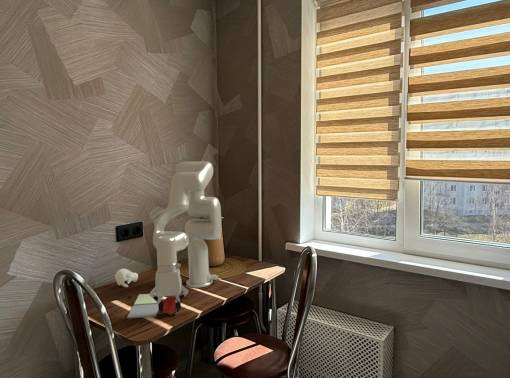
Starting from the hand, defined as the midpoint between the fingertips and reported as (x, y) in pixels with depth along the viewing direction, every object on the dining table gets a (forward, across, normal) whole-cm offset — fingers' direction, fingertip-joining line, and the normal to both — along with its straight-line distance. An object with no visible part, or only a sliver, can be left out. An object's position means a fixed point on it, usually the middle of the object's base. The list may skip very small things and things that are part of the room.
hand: (169, 310), depth 157 cm
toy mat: (+2, +11, -4) cm, 12 cm away
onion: (+2, 0, 0) cm, 2 cm away
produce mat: (+2, +11, -17) cm, 20 cm away
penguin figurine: (+2, +25, -39) cm, 46 cm away
